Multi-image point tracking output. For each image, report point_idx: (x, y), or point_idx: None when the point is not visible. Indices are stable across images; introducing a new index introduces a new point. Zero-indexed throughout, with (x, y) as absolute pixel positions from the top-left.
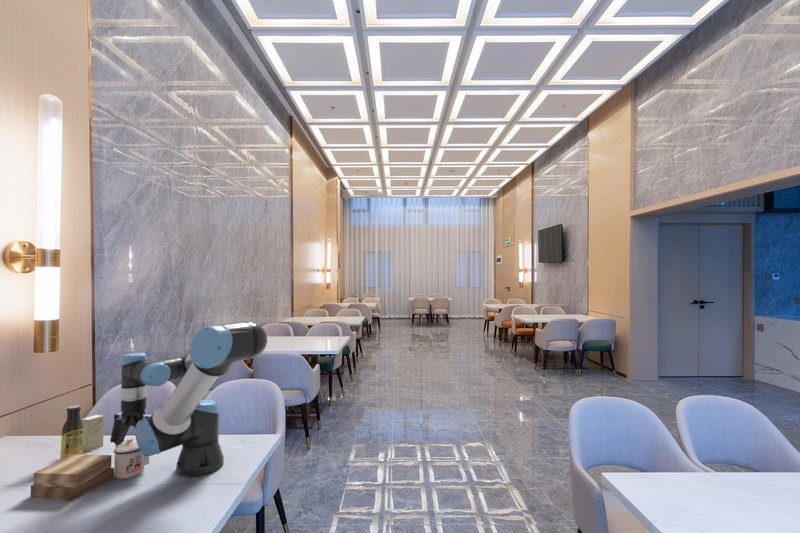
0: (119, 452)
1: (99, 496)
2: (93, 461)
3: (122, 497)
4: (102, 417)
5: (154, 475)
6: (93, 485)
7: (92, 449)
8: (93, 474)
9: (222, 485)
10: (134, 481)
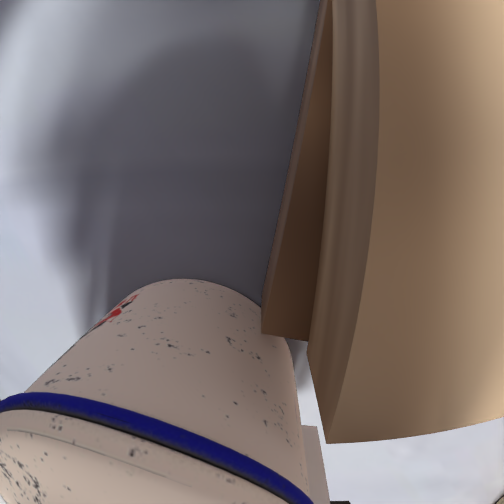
0: (107, 428)
1: (171, 11)
2: (480, 204)
3: (34, 36)
4: None
5: (20, 314)
6: (305, 96)
7: (500, 500)
8: (340, 88)
9: None
10: (67, 234)
